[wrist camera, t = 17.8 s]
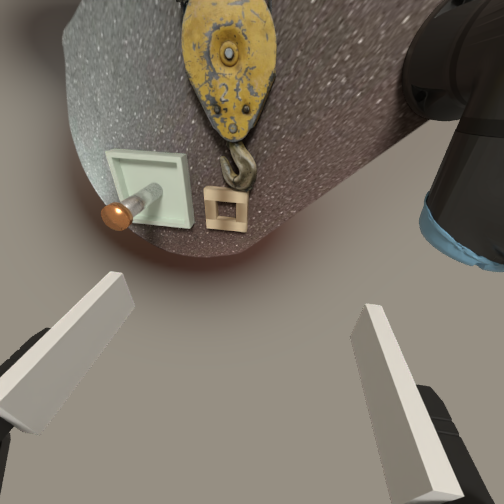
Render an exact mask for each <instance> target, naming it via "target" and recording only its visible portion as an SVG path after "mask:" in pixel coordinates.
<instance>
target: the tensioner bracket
mask: <svg viewBox="0 0 504 504" xmlns="http://www.w3.org/2000/svg"><path fill="white" fill-rule="evenodd" d="M204 201H205V213H206V225H207V228H210V229H219V230H229V231H239V232H247V229H248V204H249V190H248V191H247V192H246V191H242V190H239V191H238V190H236V189H235V190H234V188H226V187H215V186H206V187H205V188H204ZM218 201H223V202H233V203H236V218H233V217H223V216H219V214H218Z"/></svg>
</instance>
